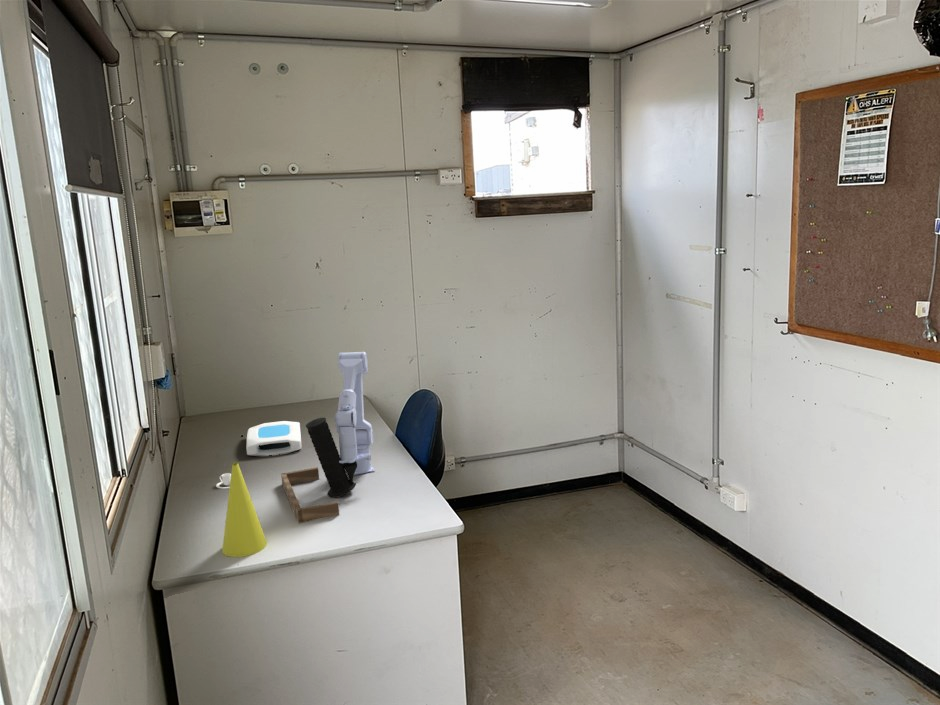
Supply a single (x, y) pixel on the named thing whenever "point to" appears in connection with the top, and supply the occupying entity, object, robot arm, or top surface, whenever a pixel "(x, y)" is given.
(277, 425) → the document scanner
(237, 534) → the cone
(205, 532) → the top surface
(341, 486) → the handle grip
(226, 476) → the teacup and saucer
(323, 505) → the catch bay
